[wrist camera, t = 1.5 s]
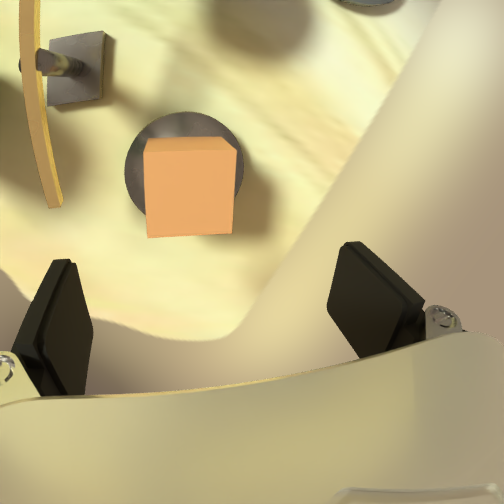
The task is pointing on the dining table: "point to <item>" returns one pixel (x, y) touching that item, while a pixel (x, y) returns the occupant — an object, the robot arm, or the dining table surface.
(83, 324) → the robot arm
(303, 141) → the dining table surface
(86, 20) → the dining table surface
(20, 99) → the dining table surface
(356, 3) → the dish
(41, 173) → the balance
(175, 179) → the block
